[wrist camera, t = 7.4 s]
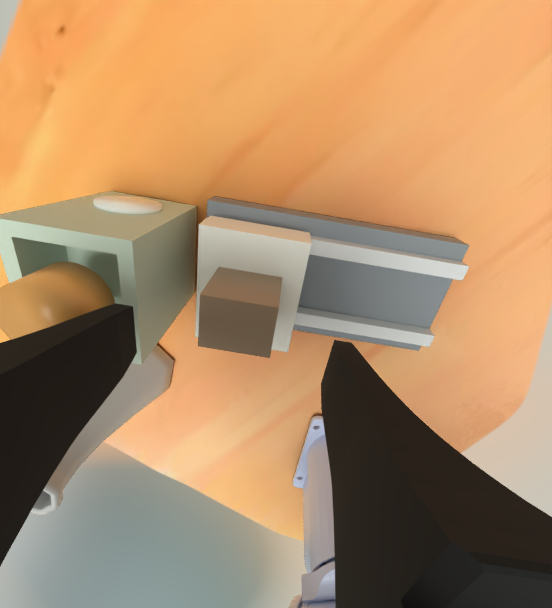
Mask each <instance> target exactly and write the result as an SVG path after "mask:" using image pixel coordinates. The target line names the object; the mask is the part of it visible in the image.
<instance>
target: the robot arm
mask: <svg viewBox="0 0 552 608" xmlns="http://www.w3.org/2000/svg"><path fill="white" fill-rule="evenodd" d="M136 354H137V347H136V335H135V323H134V311H133V306H128V305H122V304H117V303H116V304H112V305H108V306H105V307H102V308H99V309H97V310H94V311H91V312H88V313H86V314H83V315H80V316H78V317H75V318H72V319H70V320H67V321H64V322H61V323H59V324H56V325H53V326H51V327H48V328H45V329H42V330H39V331H36V332H33V333H30V334H27V335H24V336H21V337H18V338H15V339H12V340H9V341H6V342H2V343H0V566H1V564H2V562H3V560H4V558H5V556H6V554H7V552H8V551H9V549H10V547H11V545H12V543H13V542H14V540H15V538H16V536H17V535H18V533H19V531H20V529H21V528H22V526H23V524H24V522H25V520H26V519H27V517H28V515H29V513H30V512H31V510H32V508H33V506H34V505H35V503H36V501H37V500H38V498H39V496H40V495H41V493H42V491H43V490H44V488H45V486H46V485H47V483H48V481H49V480H50V478H51V476H52V475H53V473H54V472H55V470H56V468H57V467H58V465H59V464H60V462H61V460H62V459H63V457H64V456H65V454H66V453H67V451H68V449H69V448H70V446H71V445H72V443H73V442H74V441H75V439H76V438H77V436H78V435H79V434H80V432H81V431H82V430H83V428H84V427H85V426H86V424H87V423H88V422H89V421H90V419H91V418H92V417H93V415H94V414H95V413H96V412H97V410H98V409H99V408H100V406H101V405H102V404H103V403H104V401H105V400H106V399H107V397H108V396H109V395H110V394H111V392H112V391H113V390H114V388H115V387H116V386H117V384H118V383H119V382H120V380H121V379H122V378H123V376H124V375H125V373H126V371H127V370H128V368H129V366H130V365H131V363H132V361H133V359H134V357H135V355H136ZM321 404H322V416H314V417H312V419H311V422H310V426H309V429H308V432H307V435H306V439H305V442H304V445H303V449H302V452H301V455H300V458H299V462H298V465H297V468H296V471H295V475H294V478H293V486H295V487H298V488H303V517H304V558H305V565H306V570H307V573H308V574H303V575H302V595H298V596H296V597H294V599H293V600H292V602H291V604H290V606H289V608H552V517H551V516H549V515H547V514H546V513H544V512H543V511H541V510H540V509H538V508H536V507H535V506H533V505H532V504H530V503H528V502H527V501H525V500H524V499H522V498H521V497H519V496H518V495H517V494H515V493H514V492H512V491H511V490H509V489H508V488H507V487H505V486H503V485H502V484H501V483H499V482H498V481H496V480H495V479H494V478H492V477H491V476H489V475H488V474H487V473H485V472H484V471H483V470H481V469H480V468H478V467H477V466H476V465H475V464H473V463H472V462H471V461H469V460H468V459H467V458H466V457H464V456H463V455H462V454H460V453H459V452H458V451H457V450H455V449H454V448H453V447H452V446H450V445H449V444H448V443H447V442H445V441H444V440H443V439H442V438H441V437H440V436H438V435H437V434H436V433H435V432H434V431H433V430H432V429H430V428H429V427H428V426H427V425H426V424H425V423H424V422H423V421H422V420H421V419H419V418H418V417H417V416H416V415H415V414H414V413H413V412H412V411H411V410H410V409H409V408H408V407H407V406H406V405H405V404H404V403H403V402H402V401H401V400H400V399H399V398H398V397H397V396H396V395H395V394H394V392H393V391H392V390H391V389H390V388H389V387H388V386H387V385H386V384H385V382H384V381H383V380H382V379H381V378H380V377H379V376H378V374H377V373H376V372H375V371H374V370H373V368H372V367H371V366H370V365H369V364H368V362H367V361H366V360H365V359H364V357H363V356H362V355H361V354H360V353H359V351H358V350H357V349H356V348H355V346H354V345H353V344H352V343H349V342H343V341H337V340H334V343H333V346H332V350H331V353H330V356H329V360H328V363H327V366H326V369H325V373H324V376H323V379H322V383H321ZM315 425H317V426H315Z"/></svg>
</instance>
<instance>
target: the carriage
mask: <svg viewBox="0 0 552 608" xmlns="http://www.w3.org/2000/svg"><path fill="white" fill-rule="evenodd" d="M311 244H312V243H311V237H310V232H304V231H298V230H292V229H286V228H281V227H275V226H269V225H263V224H257V223H252V222H246V221H240V220H234V219H228V218H223V217H217V216H209V217H208V218H207V219H205V220H204V221H203V222H201V223H200V224H199V232H198V265H197V297H196V330H195V337H198V346H201V347H207V348H213V349H219V350H225V351H231V352H237V353H243V354H249V355H255V356H261V357H267V358H270V354H271V350H277V351H283V352H288V350H289V345H290V340H291V336H292V331H293V327H294V322H295V317H296V313H297V308H298V304H299V299H300V294H301V290H302V285H303V281H304V276H305V272H306V267H307V262H308V258H309V253H310V249H311Z"/></svg>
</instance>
